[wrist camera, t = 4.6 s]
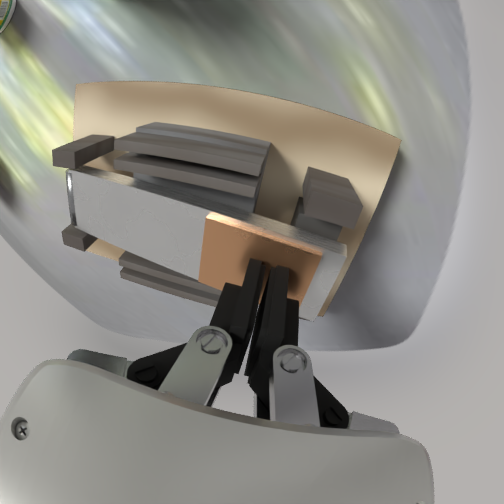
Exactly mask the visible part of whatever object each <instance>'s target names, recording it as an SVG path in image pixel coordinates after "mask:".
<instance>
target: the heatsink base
mask: <svg viewBox="0 0 504 504" xmlns="http://www.w3.org/2000/svg"><path fill="white" fill-rule="evenodd" d="M400 143H401V140H400V139H398V138H396V137H394V136H392V135H390V134H388V133H385V132H383V131H380V130H378V129H376V128H373V127H370V126H368V125H365V124H363V123H360V122H357V121H354V120H352V119H349V118H346V117H343V116H340V115H337V114H334V113H331V112H328V111H325V110H321V109H318V108H314V107H311V106H307V105H304V104H300V103H296V102H292V101H289V100H284V99H280V98H276V97H271V96H267V95H262V94H257V93H252V92H247V91H241V90H235V89H229V88H222V87H215V86H207V85H198V84H188V83H175V82H157V81H109V82H92V83H83V84H76V91H75V104H74V127H73V142H71V143H68V144H66V145H63V146H61V147H58V148H56V149H54V150H52V156H53V166H56V167H63V168H70V169H76V168H78V167H80V166H82V165H85V166H89V167H93V168H97V169H101V170H105V171H109V172H113V173H117V174H121V175H125V176H128V177H132V178H136V179H140V180H143V181H147V182H151V183H154V184H158V185H161V186H165V187H169V188H172V189H176V190H179V191H182V192H186V193H189V194H193V195H196V196H199V197H203V198H206V199H209V200H213V201H216V202H219V203H223V204H226V205H229V206H232V207H235V208H239V209H242V210H245V211H248V212H251V213H254V214H257V215H261V216H264V217H267V218H270V219H273V220H276V221H279V222H282V223H285V224H288V225H291V226H294V227H297V228H300V229H303V230H305V231H308V232H311V233H314V234H317V235H320V236H323V237H326V238H328V239H331V240H334V241H337V242H340V243H342V244H345V245H346V246H347V257H346V259H345V262H344V264H343V266H342V268H341V270H340V272H339V274H338V276H337V278H336V280H335V282H334V284H333V286H332V288H331V290H330V292H329V294H328V296H327V298H326V300H325V302H324V304H323V306H322V307H321V309H320V311H319V313H318V315H317V316H322V317H323V316H324V314H325V312H326V310H327V308H328V307H329V305H330V303H331V301H332V299H333V297H334V295H335V293H336V292H337V290H338V288H339V286H340V284H341V282H342V280H343V278H344V276H345V274H346V272H347V270H348V268H349V266H350V264H351V262H352V260H353V258H354V256H355V254H356V252H357V249H358V247H359V245H360V243H361V241H362V239H363V237H364V234H365V232H366V230H367V228H368V225H369V223H370V221H371V219H372V216H373V214H374V212H375V209H376V207H377V204H378V202H379V200H380V197H381V195H382V192H383V190H384V187H385V185H386V182H387V179H388V177H389V174H390V171H391V169H392V166H393V163H394V161H395V158H396V155H397V152H398V149H399V146H400ZM62 237H63V242H64V244H65V245H67V246H70V247H73V248H76V249H78V250H81V251H84V252H85V251H89V252H92V253H95V254H98V255H101V256H104V257H107V258H110V259H113V260H116V261H119V265H120V266H123V269H122V270H121V271H120V275H121V278H123V279H126V280H129V281H132V282H135V283H138V284H141V285H144V286H147V287H150V288H153V289H156V290H160V291H163V292H166V293H169V294H172V295H176V296H179V297H182V298H186V299H189V300H193V301H196V302H199V303H203V304H207V305H210V306H214V307H216V306H217V303H218V301H219V298H220V295H221V292H222V291H221V290H219V289H216V288H213V287H211V286H208V285H206V284H203V283H200V282H198V280H196V279H194V278H191V277H189V276H186V275H184V274H181V273H179V272H176V271H174V270H171V269H169V268H166V267H164V266H162V265H159V264H157V263H154V262H152V261H150V260H147V259H145V258H142V257H140V256H138V255H135V254H133V253H131V252H128V251H126V250H124V249H122V248H119V247H117V246H115V245H112V244H110V243H108V242H106V241H104V240H101V239H99V238H97V237H95V236H93V235H90V234H88V233H86V232H84V231H82V230H80V229H77V228H75V226H74V225H72V224H71V225H69V226H68V227H67V228H66V229H64V230H63V231H62ZM299 318H300V319H304V318H301V317H299ZM304 320H307V319H304ZM309 321H310V320H309Z"/></svg>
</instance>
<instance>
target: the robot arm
mask: <svg viewBox="0 0 504 504" xmlns="http://www.w3.org/2000/svg"><path fill="white" fill-rule="evenodd" d="M261 263H262V261H260V260H256V259H252V258H250V260H249V263H248V267H247V270H246V274H245V277H244V281H243V284H242V286H239V285H235V284H231V283H227V282H225V284H224V287H223V290H222V292H221V295H220V298H219V301H218V303H217V306H216V309H215V311H214V314H213V317H212V320H211V322H210V325H209V326H205V327H201V328H199V329H197V330H196V331H195V332H194V333H193V335H192V337H191V338H190V340H189V341H188V343H185V344H182V345H179V346H177V347H173V348H171V349H168V350H165V351H162V352H159V353H156V354H153V355H150V356H146V357H144V358H140V359H138V360H136V361H127V358H123V357H118V356H113V355H107V354H103V353H98V352H93V351H89V350H83V349H79V350H76V351H73V352H72V353H71V354H70V355H69V356H68V358H67V360H64V359H53V360H46V361H44V362H42V363H40V364H39V365H37V366H36V367H35V368H34V369H33V370H32V371H31V372H30V373H29V374H28V376H27V377H26V378H25V379H24V381H23V382H22V384H21V385H20V386H19V388H18V389H17V391H16V393H15V394H14V396H13V397H12V399H11V401H10V402H9V404H8V406H7V408H6V410H5V412H4V414H3V416H2V418H1V420H0V504H434V482H433V472H432V467H431V462H430V458H429V455H428V452H427V450H426V449H425V447H424V446H423V445H422V444H421V443H419V442H418V441H416V440H414V439H412V438H410V437H407V436H404V435H401V434H399V430H398V428H397V426H396V425H394V424H393V423H391V422H389V421H385V420H381V419H378V418H374V417H371V416H367V415H364V414H360V413H357V412H354V411H353V412H352V413H349V412H347V410H346V409H345V408H344V406H343V405H342V404H341V403H340V402H339V401H338V400H337V399H336V398H335V397H334V396H333V395H332V394H331V393H330V392H329V391H328V390H327V389H326V388H325V387H324V386H323V385H322V384H321V383H320V382H319V381H318V380H317V379H316V378H315V377H314V376H313V370H312V363H311V360H310V357H309V355H308V354H307V353H306V352H305V351H304V350H303V349H301V348H299V347H298V326H299V301H298V300H294V299H290V298H287V292H288V278H289V268H287V267H284V266H280V265H277V266H276V268H274V267H271V270H270V273H269V276H268V279H267V282H266V286H265V289H264V292H263V295H262V298H261V302H260V305H259V308H258V304H259V299H260V294H261V288H262V283H263V278H264V273H265V268H266V265H262V264H261ZM257 309H258V311H257ZM256 314H257V315H256ZM255 319H256V320H255ZM254 324H255V325H254ZM253 328H254V330H253ZM252 332H253V335H252ZM251 335H252V340H251V345H250V350H249V354H248V359H247V364H246V369H245V374H244V375H245V376H249V378H248V383H249V384H250V385H249V386H250V387H251V388H252V390H253V391H254V392H255V393H254V417H250V416H245V415H241V414H236V413H232V412H227V411H223V410H219V409H216V408H212V406H213V404H214V402H215V400H216V398H217V396H218V394H219V391H220V389H221V386H223V385H225V384H227V383H230V382H231V381H232V378H233V375H234V373H236V374H239V371H240V368H241V365H242V362H243V359H244V356H245V353H246V350H247V347H248V344H249V341H250V338H251Z"/></svg>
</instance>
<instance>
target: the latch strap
mask: <svg viewBox="0 0 504 504" xmlns="http://www.w3.org/2000/svg"><path fill="white" fill-rule="evenodd" d="M66 182H67V193H68V202H69V210H70V218H71V224H72V225H74V226H75V228H77V229H80V230H82V231H84V232H86V233H88V234H90V235H93V236H95V237H97V238H99V239H101V240H104V241H106V242H108V243H110V244H112V245H115V246H117V247H119V248H122V249H124V250H126V251H128V252H131V253H133V254H135V255H138V256H140V257H142V258H145V259H147V260H150V261H152V262H154V263H157V264H159V265H162V266H164V267H166V268H169V269H171V270H174V271H176V272H179V273H181V274H184V275H186V276H189V277H191V278H194V279H196V280H198V282H200V283H203V284H206V285H208V286H211V287H213V288H216V289H219V290H221V291H222V290H223V287H224V284H225V282H227V283H231V284H235V285H239V286H242V284H243V281H244V277H245V274H246V270H247V267H248V263H249V260H250V258H252V259H256V260H260V261H262V263H261V264H262V265H266V268H265V273H264V278H263V283H262V288H261V294H260V299H259V305H260V302H261V298H262V295H263V292H264V289H265V286H266V282H267V279H268V276H269V273H270V270H271V267H274V268H276V266H277V265H280V266H284V267H287V268H289V278H288V292H287V298H290V299H294V300H298V301H299V317H301V318H304V319H307V320H310V321H313V322H314V320H315V319H316V317H317V315H318V313H319V311H320V309H321V307H322V306H323V304H324V302H325V300H326V298H327V296H328V294H329V292H330V290H331V288H332V286H333V284H334V282H335V280H336V278H337V276H338V274H339V272H340V270H341V268H342V266H343V264H344V262H345V259H346V257H347V246H346V245H345V244H342V243H340V242H337V241H334V240H331V239H328V238H326V237H323V236H320V235H317V234H314V233H311V232H308V231H305V230H303V229H300V228H297V227H294V226H291V225H288V224H285V223H282V222H279V221H276V220H273V219H270V218H267V217H264V216H261V215H257V214H254V213H251V212H248V211H245V210H242V209H239V208H235V207H232V206H229V205H226V204H223V203H219V202H216V201H213V200H209V199H206V198H203V197H199V196H196V195H193V194H189V193H186V192H182V191H179V190H176V189H172V188H169V187H165V186H161V185H158V184H154V183H151V182H147V181H143V180H140V179H136V178H132V177H128V176H125V175H121V174H117V173H113V172H109V171H105V170H101V169H97V168H93V167H89V166H85V165H82V166H80V167H78V168H76V169H70V168H69V169H67V170H66Z"/></svg>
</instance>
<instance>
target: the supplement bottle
mask: <svg viewBox="0 0 504 504" xmlns="http://www.w3.org/2000/svg"><path fill="white" fill-rule="evenodd" d="M15 6H16V0H0V33H1V32H2V31H3V30H4V29H5V28H6V26H7V25H8V23H9V21H10V19H11V17H12V15H13V13H14V10H15Z"/></svg>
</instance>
